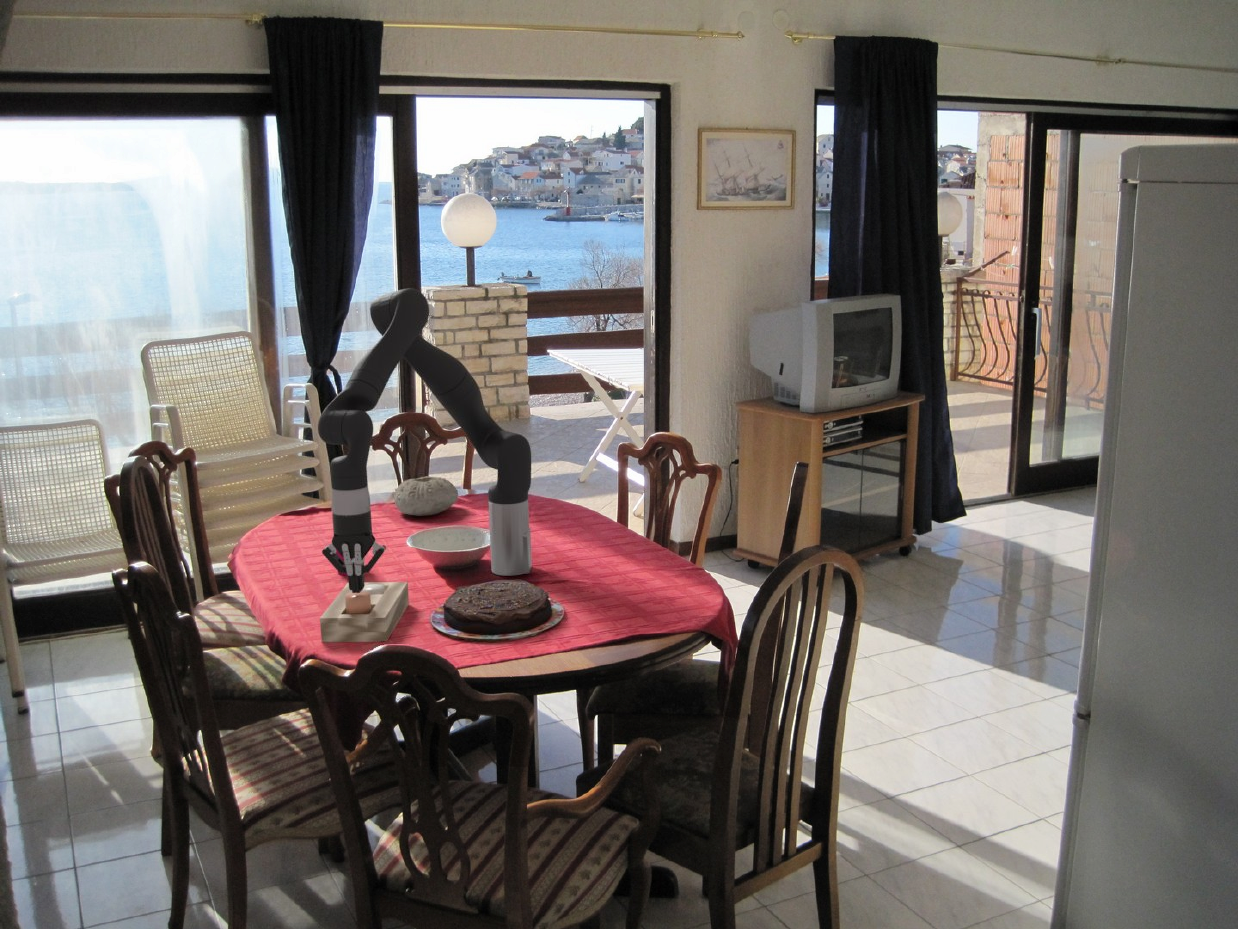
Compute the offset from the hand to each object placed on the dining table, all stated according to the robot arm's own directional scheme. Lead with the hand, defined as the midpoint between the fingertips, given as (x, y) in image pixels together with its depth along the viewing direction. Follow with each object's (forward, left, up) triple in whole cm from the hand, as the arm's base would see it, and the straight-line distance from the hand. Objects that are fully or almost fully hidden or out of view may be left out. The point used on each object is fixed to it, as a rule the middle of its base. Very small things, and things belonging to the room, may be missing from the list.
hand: (357, 591), depth 236 cm
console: (0, -6, -9) cm, 11 cm away
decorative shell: (+4, -93, -9) cm, 94 cm away
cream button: (0, -12, -7) cm, 14 cm away
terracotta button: (0, 0, -4) cm, 4 cm away
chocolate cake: (-27, -8, -9) cm, 30 cm away
